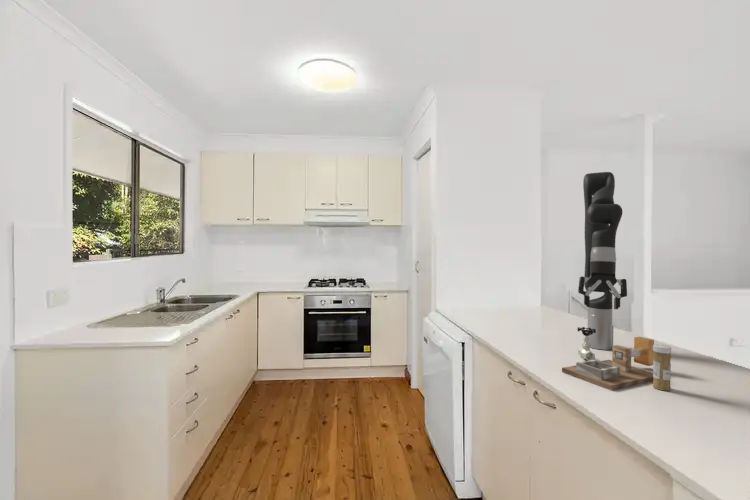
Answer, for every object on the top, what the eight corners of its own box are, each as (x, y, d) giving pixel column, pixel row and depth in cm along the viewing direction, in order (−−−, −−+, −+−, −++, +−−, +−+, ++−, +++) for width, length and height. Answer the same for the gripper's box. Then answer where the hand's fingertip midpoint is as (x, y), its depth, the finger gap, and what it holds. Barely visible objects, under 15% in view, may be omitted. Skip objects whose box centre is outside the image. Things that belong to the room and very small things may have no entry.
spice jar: (672, 392, 115) (672, 348, 115) (653, 389, 117) (654, 346, 117) (669, 387, 119) (669, 344, 119) (651, 384, 121) (652, 342, 121)
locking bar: (639, 361, 139) (639, 336, 139) (653, 365, 135) (654, 339, 134) (611, 366, 133) (611, 340, 133) (625, 370, 129) (626, 344, 129)
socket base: (608, 363, 142) (608, 339, 142) (660, 379, 126) (660, 351, 126) (561, 372, 133) (562, 345, 133) (611, 390, 117) (611, 360, 116)
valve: (591, 357, 151) (591, 327, 150) (599, 362, 144) (599, 330, 144) (573, 356, 151) (574, 326, 151) (581, 361, 145) (581, 330, 145)
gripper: (623, 262, 132) (622, 309, 131) (577, 260, 137) (576, 305, 136) (630, 261, 125) (629, 310, 124) (581, 259, 130) (580, 306, 129)
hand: (601, 308), depth 130 cm, fingers open, 8 cm apart
